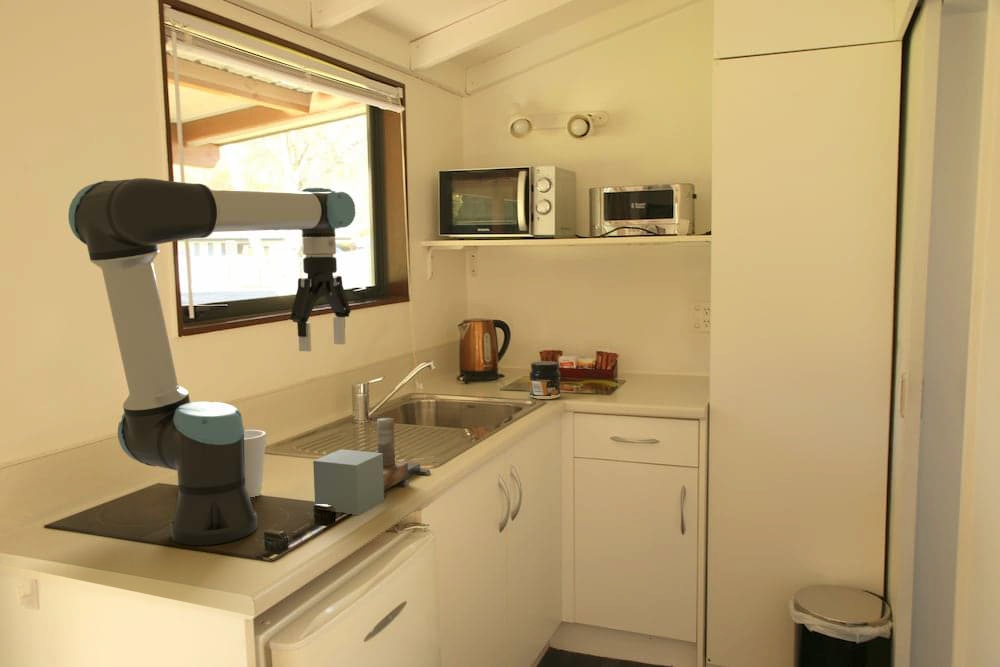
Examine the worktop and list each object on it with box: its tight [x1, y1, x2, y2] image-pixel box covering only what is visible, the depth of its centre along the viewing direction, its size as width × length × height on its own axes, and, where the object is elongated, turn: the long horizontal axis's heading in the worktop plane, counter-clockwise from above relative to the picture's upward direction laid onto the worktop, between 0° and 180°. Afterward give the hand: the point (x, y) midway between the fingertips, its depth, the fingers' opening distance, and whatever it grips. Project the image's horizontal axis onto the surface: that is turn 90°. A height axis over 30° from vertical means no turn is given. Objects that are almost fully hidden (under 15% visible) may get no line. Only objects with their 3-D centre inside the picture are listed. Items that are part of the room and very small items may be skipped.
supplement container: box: [528, 360, 561, 396], centre depth 277 cm, size 10×10×12 cm
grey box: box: [312, 448, 385, 516], centre depth 164 cm, size 10×10×10 cm
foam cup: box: [244, 429, 267, 498], centre depth 172 cm, size 10×9×13 cm
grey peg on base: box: [376, 417, 408, 490], centre depth 174 cm, size 12×7×14 cm, turn 157°
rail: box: [384, 462, 431, 499], centre depth 179 cm, size 22×8×2 cm, turn 157°
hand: (323, 347), depth 190 cm, fingers open, 13 cm apart
